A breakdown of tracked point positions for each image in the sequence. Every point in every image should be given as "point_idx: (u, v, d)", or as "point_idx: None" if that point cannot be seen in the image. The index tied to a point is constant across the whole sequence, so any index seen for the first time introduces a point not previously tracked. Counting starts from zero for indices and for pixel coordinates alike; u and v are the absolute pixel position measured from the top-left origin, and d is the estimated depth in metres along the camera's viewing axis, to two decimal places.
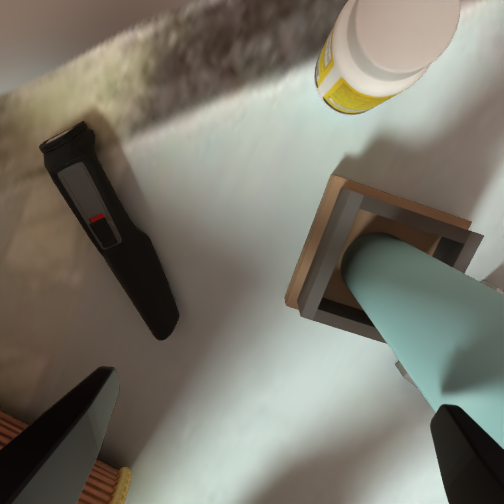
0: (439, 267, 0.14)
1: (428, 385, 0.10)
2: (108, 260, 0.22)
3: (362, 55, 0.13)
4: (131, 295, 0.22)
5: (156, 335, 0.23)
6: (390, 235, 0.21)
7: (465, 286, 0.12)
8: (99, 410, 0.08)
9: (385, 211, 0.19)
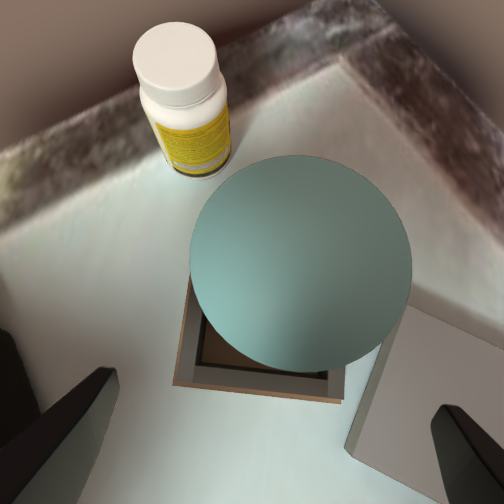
0: None
1: None
2: None
3: (146, 84, 0.15)
4: None
5: None
6: None
7: None
8: (99, 410, 0.08)
9: None
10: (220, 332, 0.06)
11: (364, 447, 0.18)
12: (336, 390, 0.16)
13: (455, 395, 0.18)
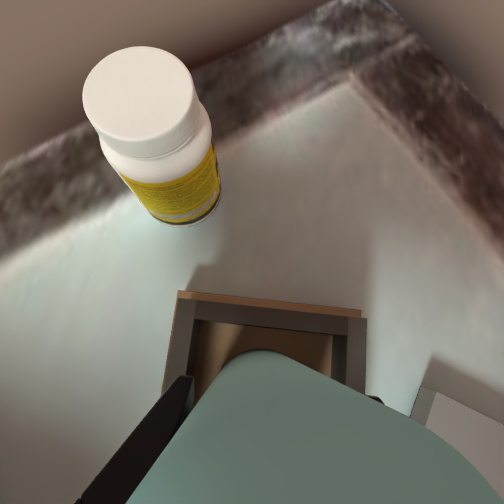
0: (254, 361, 0.09)
1: None
2: None
3: (100, 132, 0.11)
4: None
5: None
6: (261, 349, 0.15)
7: (247, 372, 0.06)
8: (185, 419, 0.08)
9: (229, 315, 0.14)
10: None
11: None
12: None
13: None
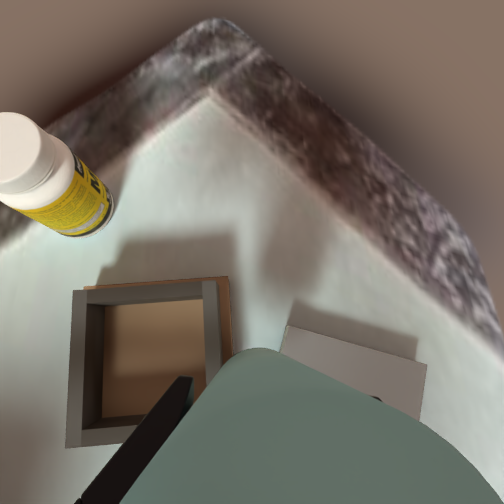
0: (253, 359, 0.09)
1: None
2: None
3: None
4: None
5: None
6: (260, 348, 0.15)
7: (245, 371, 0.06)
8: None
9: (113, 295, 0.19)
10: None
11: None
12: None
13: None
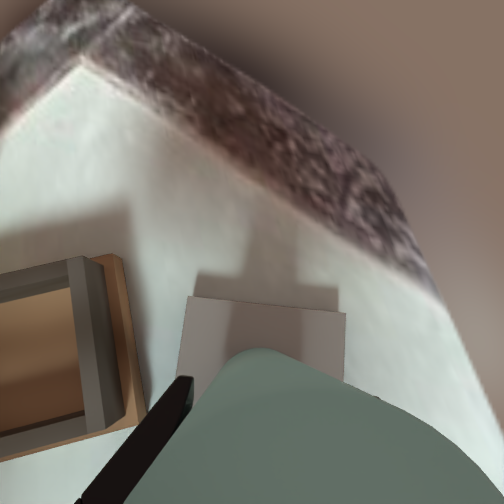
0: (254, 359, 0.09)
1: None
2: None
3: None
4: None
5: None
6: (261, 348, 0.15)
7: (247, 370, 0.06)
8: None
9: None
10: None
11: None
12: (96, 422, 0.15)
13: None
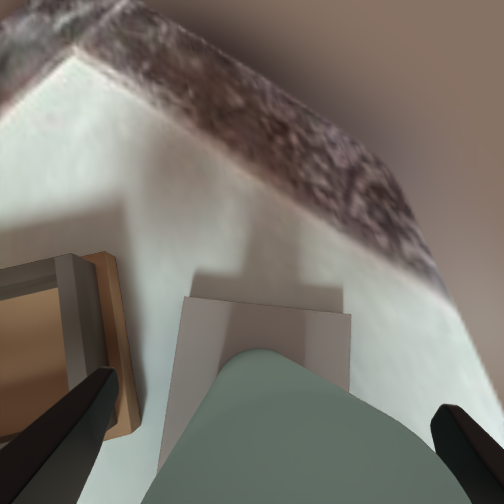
0: (254, 362, 0.09)
1: None
2: None
3: None
4: None
5: None
6: (260, 349, 0.16)
7: (248, 373, 0.07)
8: (99, 410, 0.08)
9: None
10: None
11: None
12: None
13: None
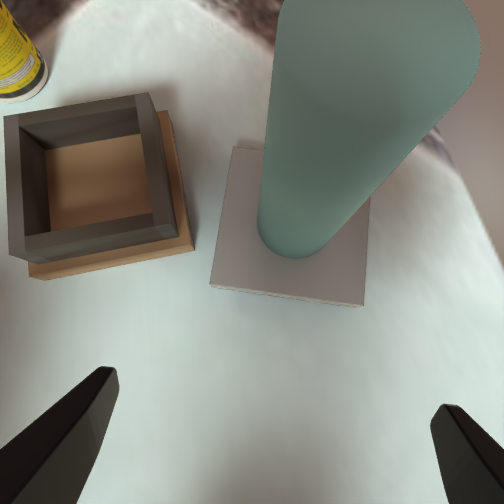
0: None
1: (278, 80, 0.08)
2: None
3: None
4: None
5: None
6: None
7: None
8: (99, 410, 0.08)
9: (45, 116, 0.19)
10: (307, 88, 0.07)
11: (218, 272, 0.19)
12: (161, 218, 0.17)
13: None
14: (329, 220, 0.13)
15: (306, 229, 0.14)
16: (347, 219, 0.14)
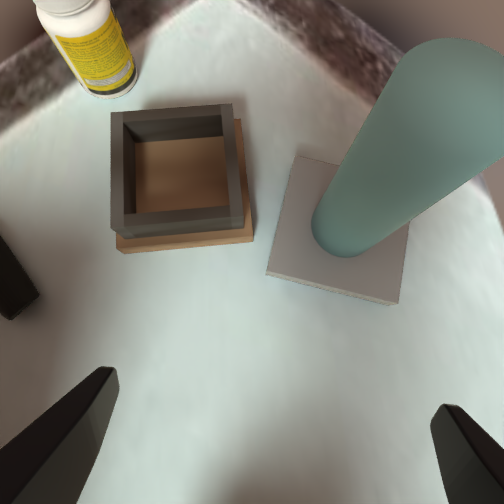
0: None
1: (383, 120, 0.11)
2: None
3: None
4: None
5: (6, 311, 0.20)
6: None
7: None
8: (99, 410, 0.08)
9: (145, 116, 0.22)
10: (410, 130, 0.10)
11: (275, 262, 0.22)
12: (237, 210, 0.21)
13: None
14: (389, 225, 0.16)
15: (366, 231, 0.17)
16: None
